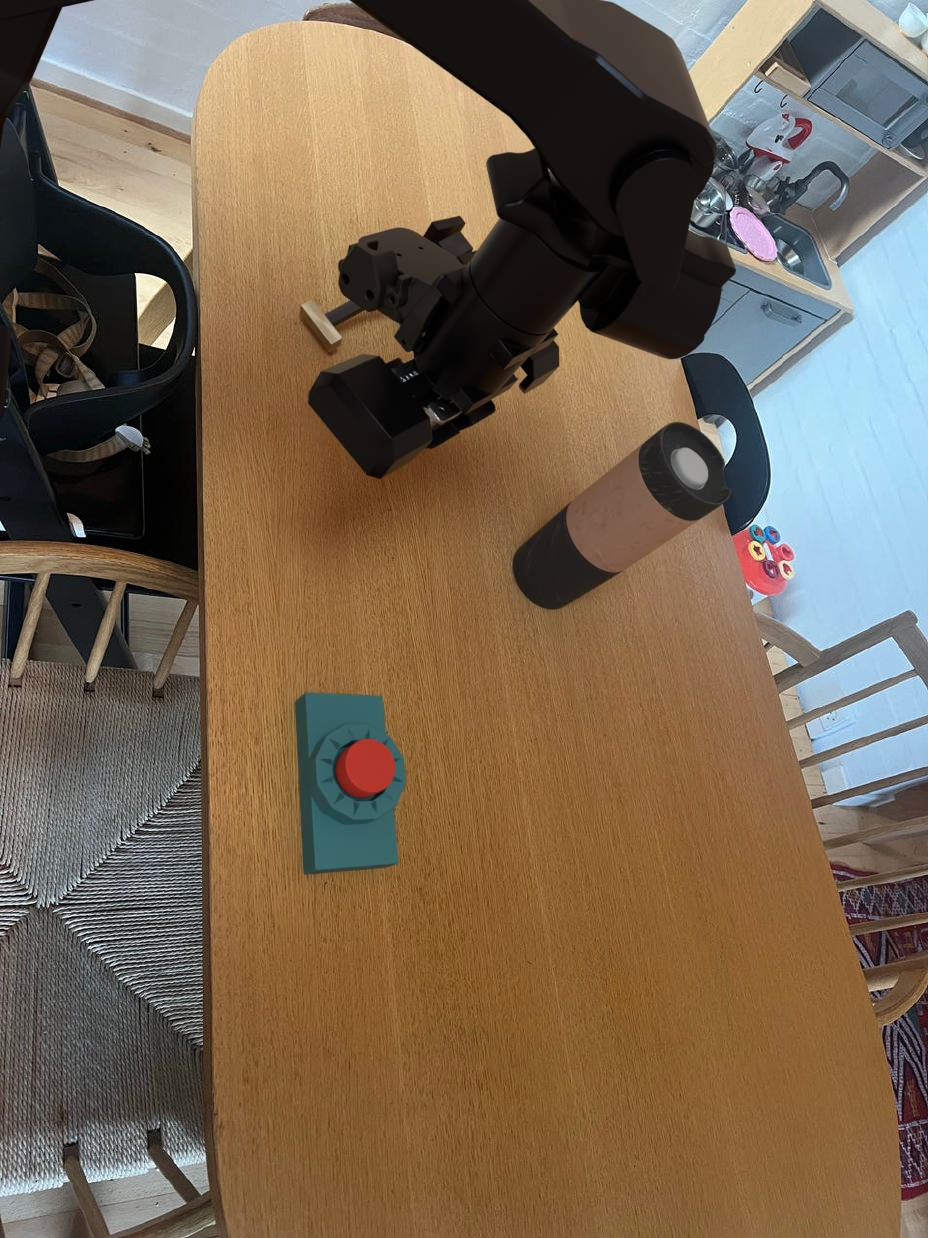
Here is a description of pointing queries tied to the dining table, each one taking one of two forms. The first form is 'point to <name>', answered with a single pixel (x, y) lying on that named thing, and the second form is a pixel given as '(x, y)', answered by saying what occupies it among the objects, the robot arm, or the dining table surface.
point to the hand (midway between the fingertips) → (388, 452)
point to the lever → (328, 321)
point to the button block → (329, 815)
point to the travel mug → (623, 516)
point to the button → (365, 768)
